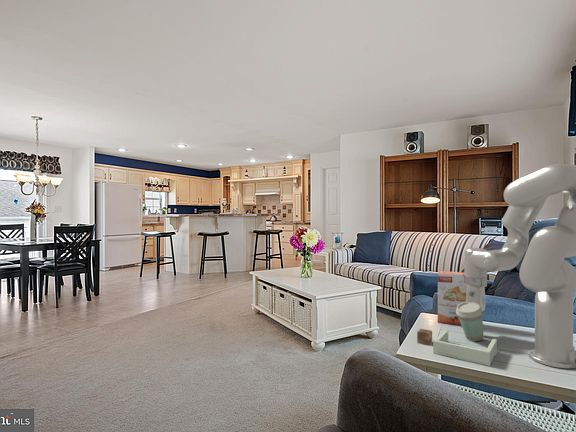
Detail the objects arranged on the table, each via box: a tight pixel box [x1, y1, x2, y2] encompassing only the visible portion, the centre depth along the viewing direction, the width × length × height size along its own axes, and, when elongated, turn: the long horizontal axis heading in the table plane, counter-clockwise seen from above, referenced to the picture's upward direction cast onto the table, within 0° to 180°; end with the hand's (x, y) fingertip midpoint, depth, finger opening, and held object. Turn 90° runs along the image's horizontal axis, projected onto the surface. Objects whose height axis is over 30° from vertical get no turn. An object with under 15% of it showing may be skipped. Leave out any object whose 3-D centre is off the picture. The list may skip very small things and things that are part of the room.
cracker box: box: [437, 270, 467, 326], centre depth 147 cm, size 14×6×21 cm, turn 67°
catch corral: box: [432, 329, 498, 367], centre depth 117 cm, size 16×14×4 cm
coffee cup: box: [456, 302, 484, 342], centre depth 128 cm, size 8×8×12 cm
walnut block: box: [416, 328, 433, 346], centre depth 126 cm, size 4×4×4 cm
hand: (474, 329), depth 133 cm, fingers closed
